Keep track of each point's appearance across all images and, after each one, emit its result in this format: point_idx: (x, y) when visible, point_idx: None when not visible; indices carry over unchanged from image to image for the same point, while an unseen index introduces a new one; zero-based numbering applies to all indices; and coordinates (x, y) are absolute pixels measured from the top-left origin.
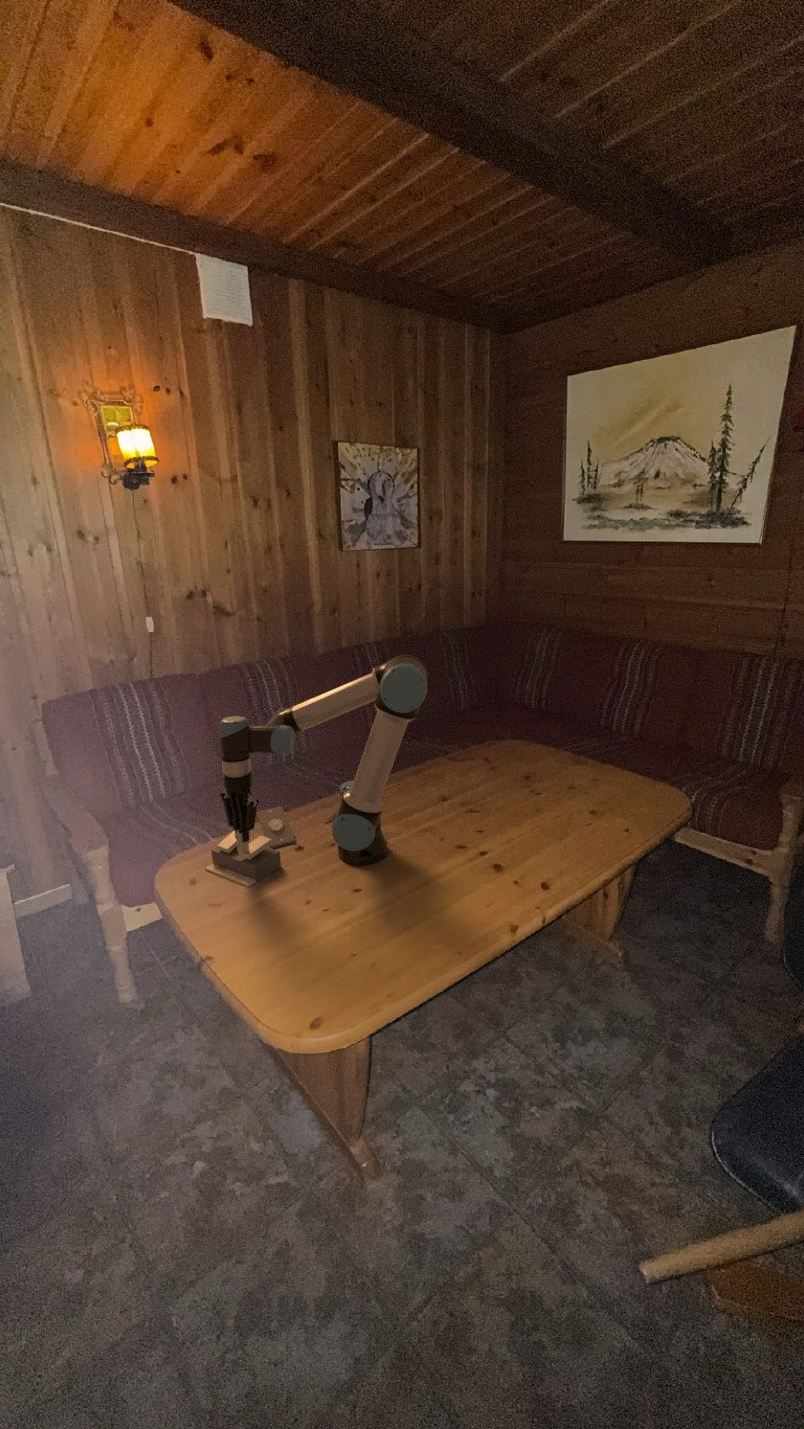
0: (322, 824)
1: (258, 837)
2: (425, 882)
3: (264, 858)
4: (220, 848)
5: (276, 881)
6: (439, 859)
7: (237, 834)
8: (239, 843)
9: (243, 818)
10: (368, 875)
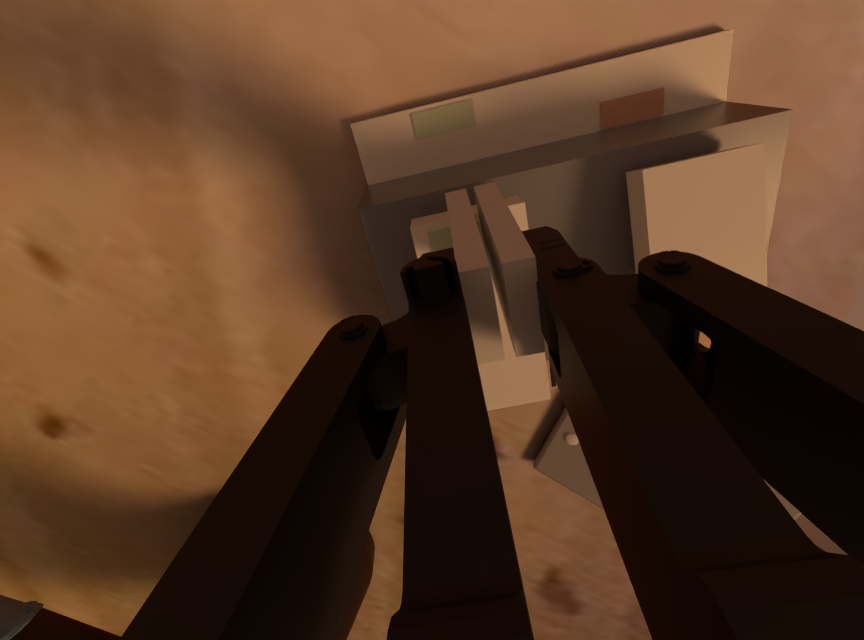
0: (558, 561)
1: (543, 379)
2: (7, 558)
3: (402, 298)
4: (719, 151)
5: (307, 256)
6: (119, 625)
7: (503, 245)
8: (471, 214)
9: (411, 439)
10: (136, 492)
